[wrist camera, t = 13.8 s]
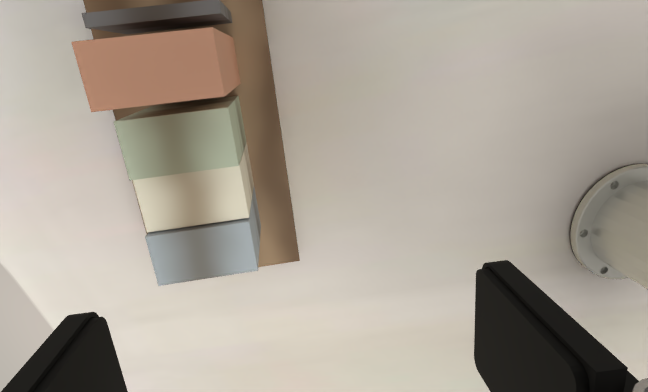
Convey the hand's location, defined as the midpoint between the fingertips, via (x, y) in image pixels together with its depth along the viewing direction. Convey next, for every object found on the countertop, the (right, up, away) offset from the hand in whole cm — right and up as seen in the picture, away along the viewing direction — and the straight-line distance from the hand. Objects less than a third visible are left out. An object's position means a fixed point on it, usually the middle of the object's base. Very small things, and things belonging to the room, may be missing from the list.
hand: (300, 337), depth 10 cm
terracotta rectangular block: (-10, +14, +23) cm, 28 cm away
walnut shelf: (-10, +8, +26) cm, 29 cm away
